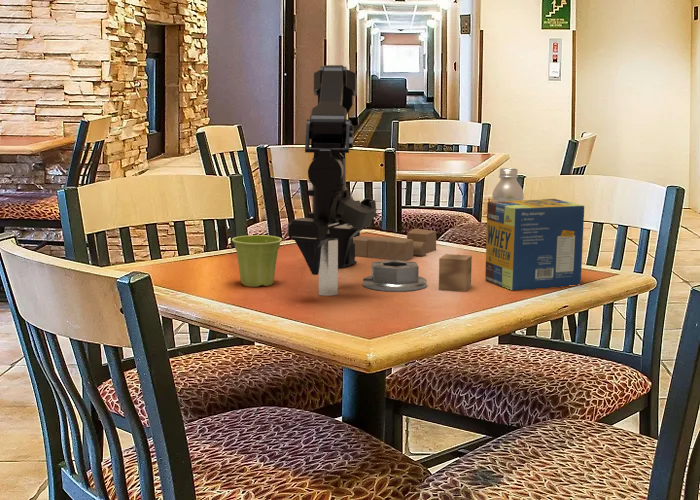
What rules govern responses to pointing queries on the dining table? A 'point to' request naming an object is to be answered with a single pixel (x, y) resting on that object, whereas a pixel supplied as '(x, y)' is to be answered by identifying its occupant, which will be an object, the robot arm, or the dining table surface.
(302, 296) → the dining table surface
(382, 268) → the socket
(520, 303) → the dining table surface
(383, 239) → the wooden block set
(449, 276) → the brown wooden block
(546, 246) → the protein box
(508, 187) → the plastic bottle
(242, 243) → the plant pot
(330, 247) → the tan elongated piece
